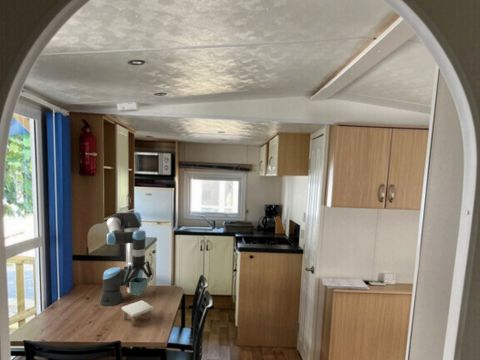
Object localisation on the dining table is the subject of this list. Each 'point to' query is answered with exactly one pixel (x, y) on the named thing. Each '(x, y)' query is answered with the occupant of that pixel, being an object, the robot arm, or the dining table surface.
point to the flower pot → (138, 285)
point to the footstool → (137, 310)
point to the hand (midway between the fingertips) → (138, 289)
